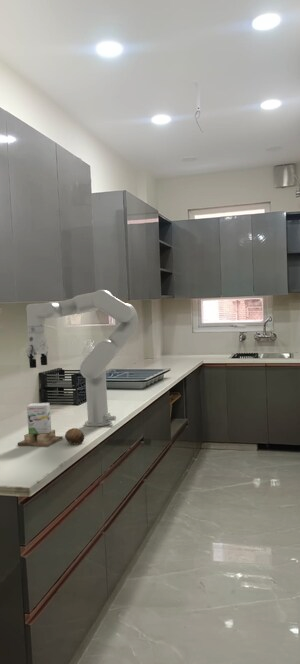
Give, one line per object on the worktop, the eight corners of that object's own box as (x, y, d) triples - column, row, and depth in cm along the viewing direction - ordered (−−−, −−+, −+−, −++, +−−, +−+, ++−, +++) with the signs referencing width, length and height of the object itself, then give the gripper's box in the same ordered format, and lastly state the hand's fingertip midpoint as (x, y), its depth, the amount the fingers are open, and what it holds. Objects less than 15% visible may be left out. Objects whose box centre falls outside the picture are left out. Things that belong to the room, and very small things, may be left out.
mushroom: (61, 434, 207) (67, 422, 205) (79, 438, 210) (85, 427, 208) (62, 447, 201) (68, 436, 198) (80, 452, 204) (87, 440, 201)
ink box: (28, 434, 207) (26, 405, 207) (31, 431, 212) (29, 403, 212) (48, 433, 207) (46, 404, 206) (51, 430, 212) (49, 402, 211)
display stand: (33, 437, 217) (33, 428, 217) (62, 438, 213) (61, 429, 213) (17, 445, 206) (16, 435, 206) (47, 446, 201) (47, 436, 201)
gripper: (33, 330, 228) (35, 368, 229) (52, 328, 245) (55, 363, 245) (18, 331, 231) (21, 368, 231) (39, 329, 247) (41, 364, 248)
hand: (38, 366), depth 238 cm, fingers open, 9 cm apart
